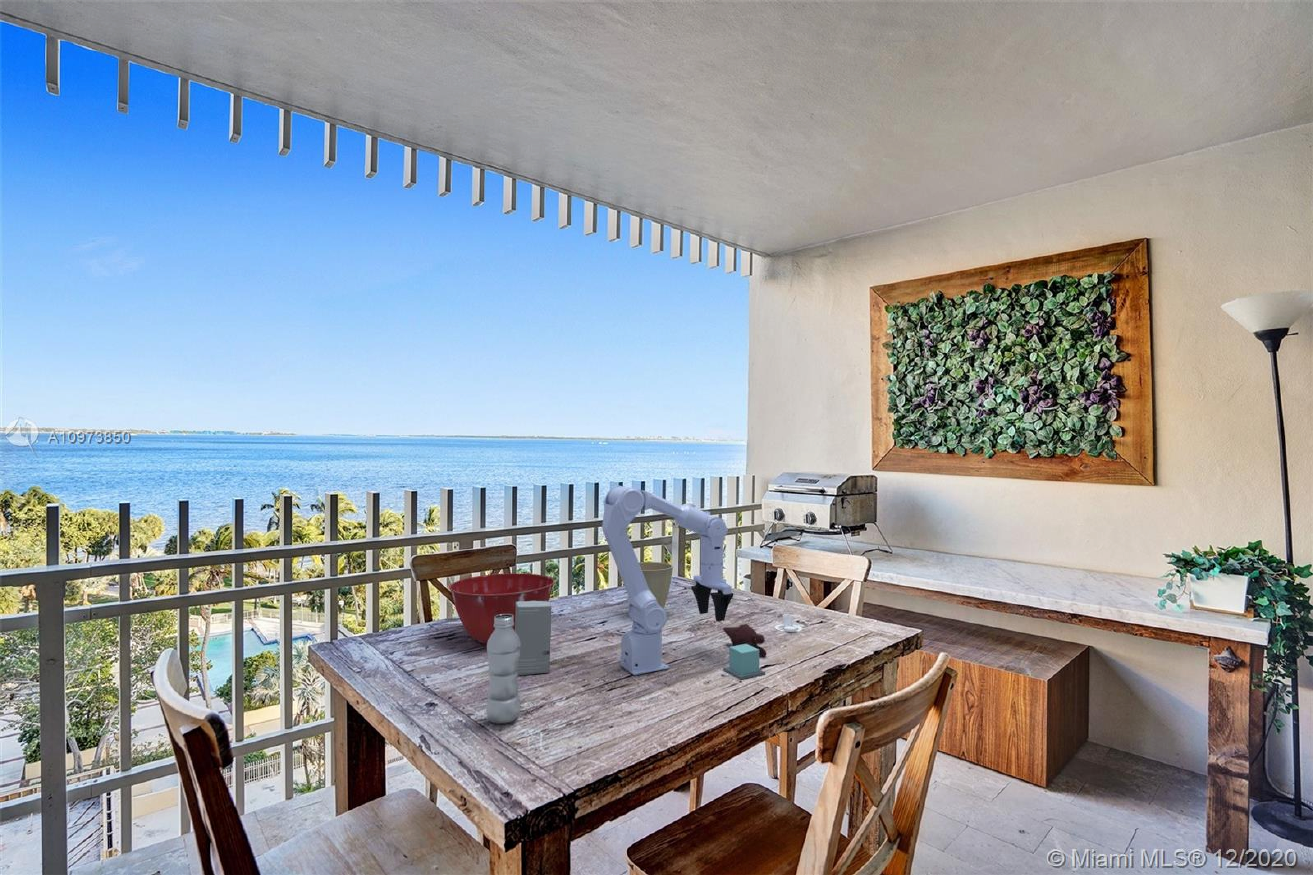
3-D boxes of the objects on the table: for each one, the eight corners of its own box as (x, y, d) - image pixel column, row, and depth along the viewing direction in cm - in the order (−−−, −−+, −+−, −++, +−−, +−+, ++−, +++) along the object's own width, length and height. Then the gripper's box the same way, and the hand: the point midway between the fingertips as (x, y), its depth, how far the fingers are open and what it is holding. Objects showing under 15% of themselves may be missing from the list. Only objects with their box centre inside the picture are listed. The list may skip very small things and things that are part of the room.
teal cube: (742, 675, 140) (742, 653, 140) (729, 668, 144) (729, 646, 144) (759, 671, 142) (759, 649, 142) (746, 664, 147) (746, 643, 147)
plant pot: (681, 614, 193) (681, 564, 194) (656, 626, 181) (656, 572, 181) (642, 608, 201) (642, 559, 202) (615, 618, 189) (616, 567, 189)
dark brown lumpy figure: (711, 622, 162) (753, 641, 150) (731, 611, 167) (773, 629, 155) (715, 646, 164) (756, 666, 152) (734, 634, 168) (776, 653, 156)
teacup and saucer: (796, 636, 173) (796, 621, 173) (769, 631, 177) (769, 617, 177) (805, 628, 181) (805, 614, 181) (780, 624, 185) (780, 610, 185)
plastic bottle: (523, 712, 121) (524, 611, 121) (516, 728, 114) (517, 621, 114) (490, 713, 121) (491, 611, 121) (481, 728, 114) (482, 621, 114)
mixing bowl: (432, 636, 170) (432, 580, 171) (523, 617, 189) (523, 568, 190) (476, 662, 149) (477, 599, 150) (574, 639, 168) (574, 583, 168)
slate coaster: (740, 679, 139) (740, 677, 139) (723, 670, 145) (723, 667, 145) (765, 674, 142) (765, 672, 142) (747, 665, 148) (747, 662, 148)
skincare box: (514, 676, 140) (515, 607, 140) (513, 666, 147) (513, 600, 147) (551, 673, 142) (552, 605, 143) (548, 663, 149) (549, 598, 150)
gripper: (741, 566, 151) (741, 621, 150) (709, 557, 163) (709, 608, 163) (717, 569, 147) (717, 625, 147) (686, 559, 160) (686, 611, 160)
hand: (711, 616), depth 155 cm, fingers open, 7 cm apart
